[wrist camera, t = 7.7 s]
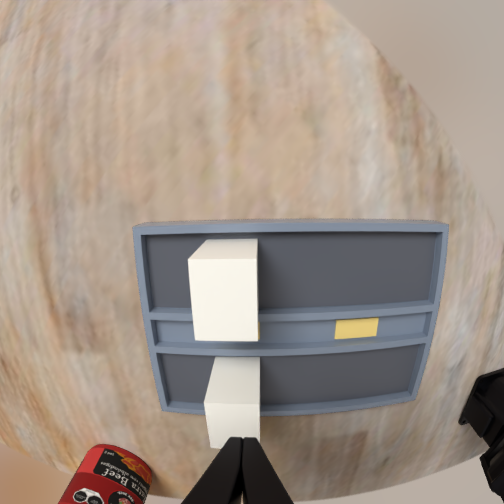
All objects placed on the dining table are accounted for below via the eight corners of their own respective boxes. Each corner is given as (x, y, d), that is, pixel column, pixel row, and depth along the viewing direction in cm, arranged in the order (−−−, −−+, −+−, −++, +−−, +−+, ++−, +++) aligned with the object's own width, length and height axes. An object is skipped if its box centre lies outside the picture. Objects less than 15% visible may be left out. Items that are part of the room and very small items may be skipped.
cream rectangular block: (257, 238, 18) (256, 258, 13) (258, 302, 19) (257, 341, 14) (207, 239, 18) (187, 259, 13) (210, 302, 19) (195, 340, 14)
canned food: (167, 477, 25) (145, 555, 14) (124, 486, 26) (98, 550, 16) (116, 435, 24) (75, 515, 13) (78, 448, 25) (40, 512, 14)
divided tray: (434, 220, 19) (449, 224, 17) (406, 386, 22) (415, 399, 20) (144, 222, 19) (132, 226, 17) (168, 395, 22) (162, 410, 20)
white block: (259, 356, 20) (259, 403, 15) (260, 400, 21) (259, 449, 16) (215, 356, 20) (203, 402, 15) (219, 400, 21) (210, 447, 16)
